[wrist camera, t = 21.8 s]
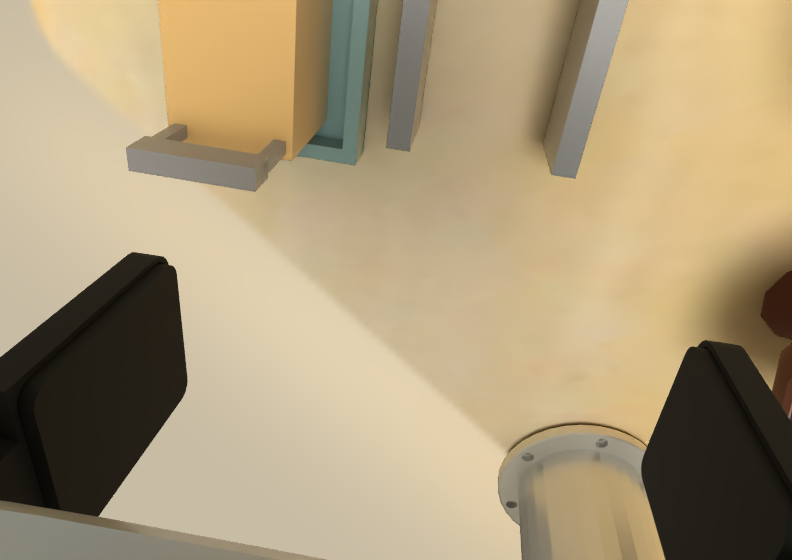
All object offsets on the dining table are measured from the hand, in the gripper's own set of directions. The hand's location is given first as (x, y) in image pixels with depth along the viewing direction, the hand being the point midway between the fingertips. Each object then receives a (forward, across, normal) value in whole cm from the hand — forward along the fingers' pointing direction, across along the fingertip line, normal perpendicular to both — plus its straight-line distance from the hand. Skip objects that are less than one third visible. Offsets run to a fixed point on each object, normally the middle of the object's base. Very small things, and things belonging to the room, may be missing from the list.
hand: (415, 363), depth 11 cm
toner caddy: (+24, +11, -2) cm, 27 cm away
